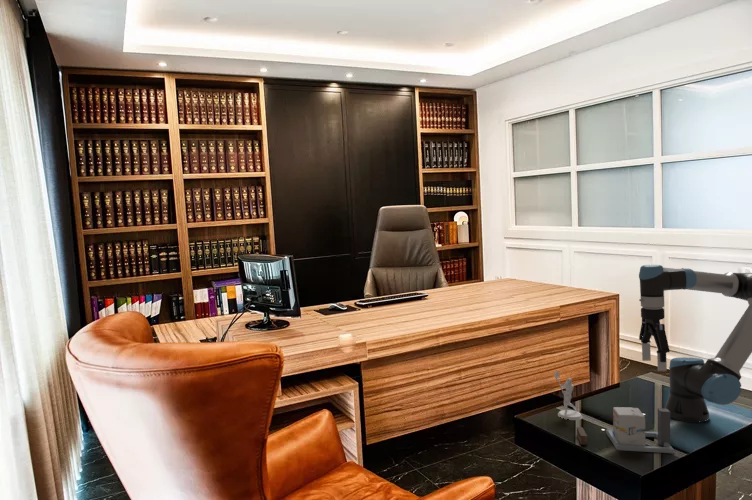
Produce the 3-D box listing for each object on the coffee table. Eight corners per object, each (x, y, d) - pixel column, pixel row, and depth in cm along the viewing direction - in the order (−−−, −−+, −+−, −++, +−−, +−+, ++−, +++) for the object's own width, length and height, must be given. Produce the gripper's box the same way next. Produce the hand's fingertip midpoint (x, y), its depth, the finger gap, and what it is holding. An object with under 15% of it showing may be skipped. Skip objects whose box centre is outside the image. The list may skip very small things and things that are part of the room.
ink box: (612, 438, 184) (612, 406, 183) (638, 439, 182) (638, 407, 182) (619, 448, 175) (619, 414, 175) (645, 449, 174) (645, 415, 173)
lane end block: (582, 435, 187) (582, 427, 186) (587, 444, 179) (587, 436, 179) (576, 435, 187) (576, 427, 187) (581, 444, 179) (581, 435, 179)
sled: (661, 436, 184) (661, 403, 184) (676, 453, 170) (676, 417, 170) (606, 433, 188) (606, 400, 187) (616, 449, 174) (616, 415, 173)
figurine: (552, 412, 210) (552, 369, 210) (573, 410, 212) (573, 367, 211) (565, 421, 201) (565, 375, 200) (587, 419, 202) (587, 373, 202)
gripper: (628, 302, 199) (630, 356, 200) (656, 313, 174) (657, 375, 175) (649, 302, 198) (650, 356, 199) (679, 313, 173) (681, 375, 174)
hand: (654, 365), depth 187 cm, fingers open, 13 cm apart
